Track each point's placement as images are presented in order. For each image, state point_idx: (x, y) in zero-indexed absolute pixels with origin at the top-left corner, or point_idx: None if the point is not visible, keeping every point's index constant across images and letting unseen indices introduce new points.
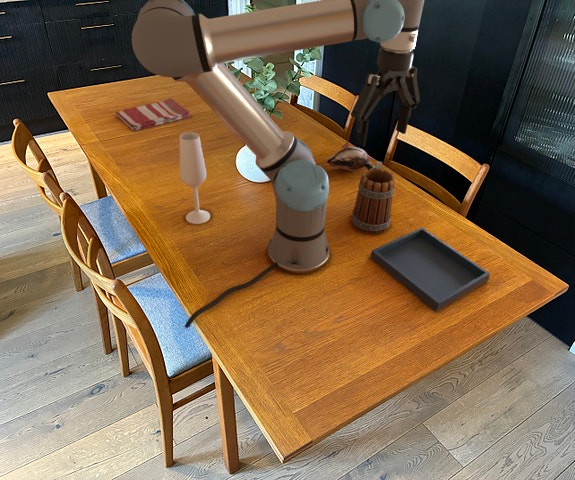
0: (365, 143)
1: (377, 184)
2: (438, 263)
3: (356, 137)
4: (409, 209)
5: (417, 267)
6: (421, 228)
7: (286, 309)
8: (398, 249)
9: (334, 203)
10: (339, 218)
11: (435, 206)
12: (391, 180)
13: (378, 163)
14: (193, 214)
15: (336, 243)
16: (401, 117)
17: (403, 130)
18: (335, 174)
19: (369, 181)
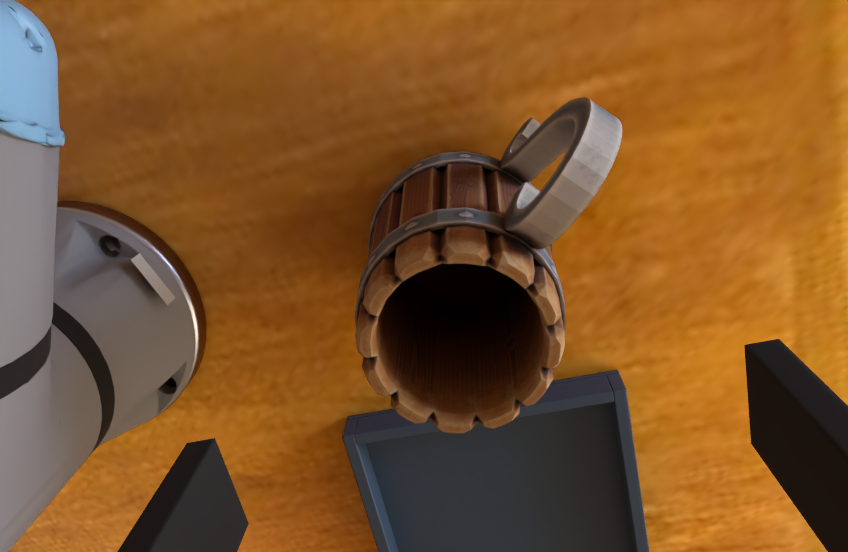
0: (238, 541)
1: (405, 417)
2: (559, 522)
3: (167, 480)
4: (705, 201)
5: (476, 514)
6: (617, 395)
7: None
8: None
9: (371, 19)
10: (341, 152)
11: (845, 223)
12: (507, 416)
13: (561, 198)
14: None
15: (258, 305)
16: (833, 491)
17: (767, 457)
18: None
19: (370, 382)
